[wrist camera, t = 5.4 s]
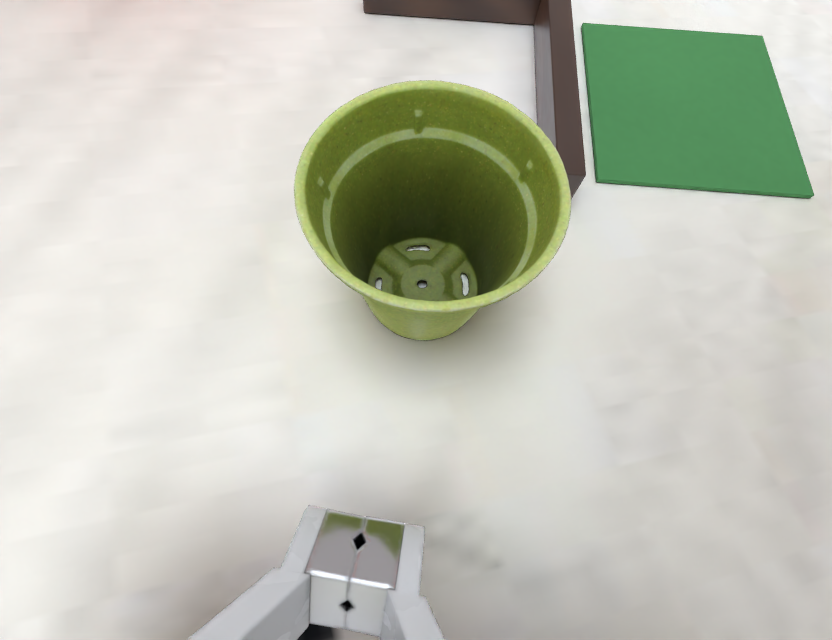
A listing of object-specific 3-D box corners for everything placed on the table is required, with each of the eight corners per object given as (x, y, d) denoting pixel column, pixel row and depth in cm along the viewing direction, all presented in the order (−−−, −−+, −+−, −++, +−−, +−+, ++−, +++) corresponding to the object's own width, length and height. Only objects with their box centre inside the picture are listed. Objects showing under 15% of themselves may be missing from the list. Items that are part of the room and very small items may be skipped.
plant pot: (492, 208, 23) (538, 71, 15) (525, 362, 20) (605, 294, 12) (334, 221, 23) (293, 87, 15) (341, 382, 20) (294, 324, 12)
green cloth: (759, 39, 29) (762, 35, 29) (809, 198, 24) (814, 195, 24) (581, 27, 29) (582, 22, 29) (595, 182, 24) (598, 178, 24)
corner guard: (553, 13, 29) (568, -35, 27) (565, 209, 23) (586, 175, 21) (366, -1, 30) (362, -49, 27) (330, 192, 24) (320, 155, 21)
